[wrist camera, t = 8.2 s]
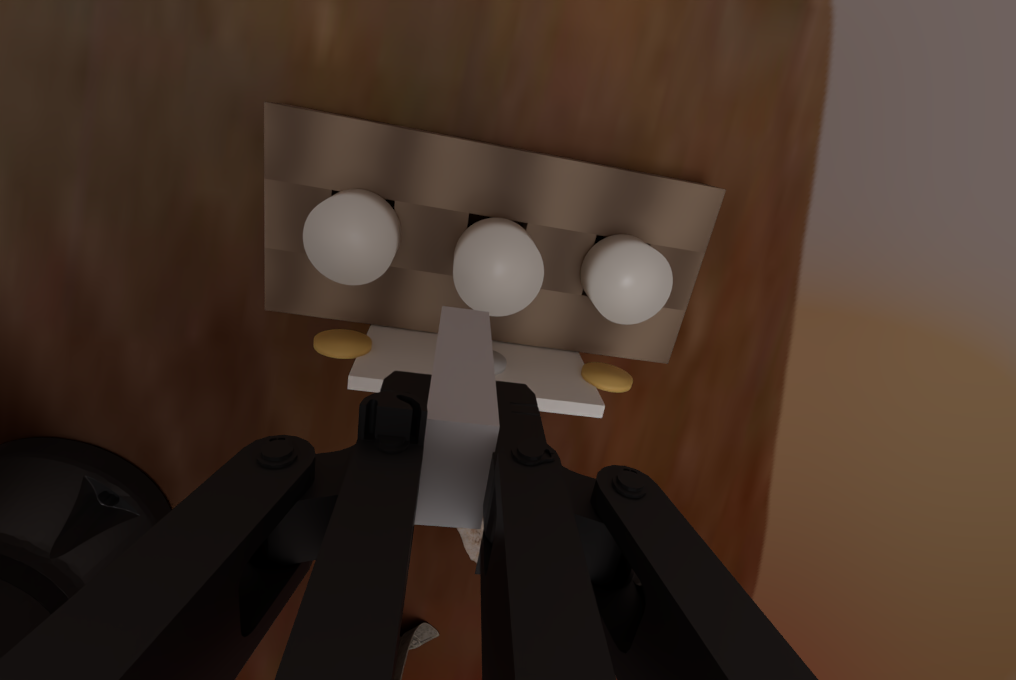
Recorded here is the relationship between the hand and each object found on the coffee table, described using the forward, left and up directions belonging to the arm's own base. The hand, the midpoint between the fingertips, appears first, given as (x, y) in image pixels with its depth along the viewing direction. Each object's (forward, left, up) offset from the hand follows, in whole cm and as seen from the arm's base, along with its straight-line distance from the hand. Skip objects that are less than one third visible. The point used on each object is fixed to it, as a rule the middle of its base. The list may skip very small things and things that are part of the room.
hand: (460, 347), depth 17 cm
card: (+2, -7, -19) cm, 20 cm away
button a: (-6, 0, -18) cm, 19 cm away
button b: (+2, 0, -17) cm, 17 cm away
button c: (+10, 0, -18) cm, 21 cm away
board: (+2, 0, -19) cm, 19 cm away
